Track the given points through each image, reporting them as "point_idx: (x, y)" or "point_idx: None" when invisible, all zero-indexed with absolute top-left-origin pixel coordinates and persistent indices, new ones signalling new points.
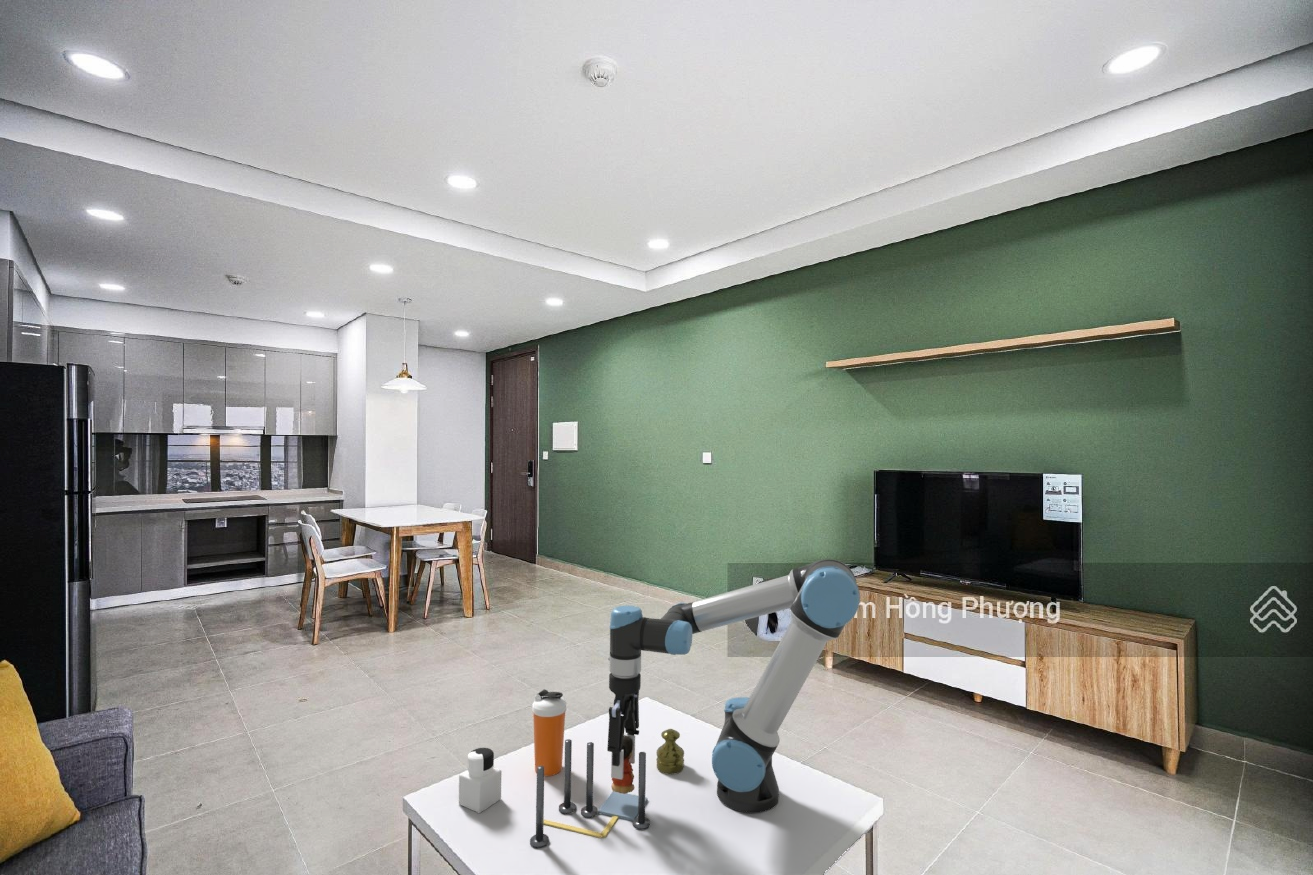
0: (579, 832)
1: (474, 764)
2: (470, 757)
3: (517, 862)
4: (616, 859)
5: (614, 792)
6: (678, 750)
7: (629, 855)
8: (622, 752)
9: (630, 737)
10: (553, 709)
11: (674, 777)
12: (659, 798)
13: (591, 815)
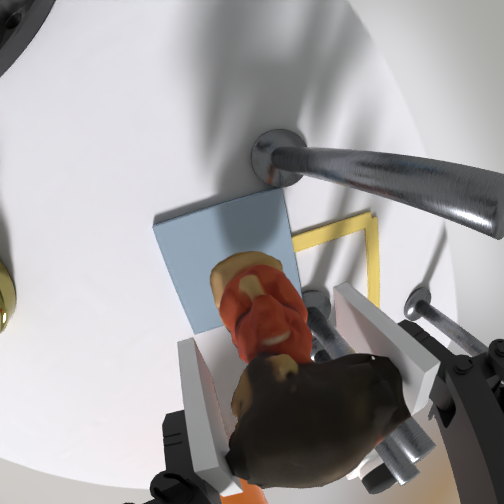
0: (377, 271)
1: None
2: None
3: (452, 287)
4: (410, 142)
5: (200, 326)
6: None
7: (390, 121)
8: (433, 358)
9: (228, 470)
10: None
11: (3, 242)
12: (116, 200)
13: (324, 295)
